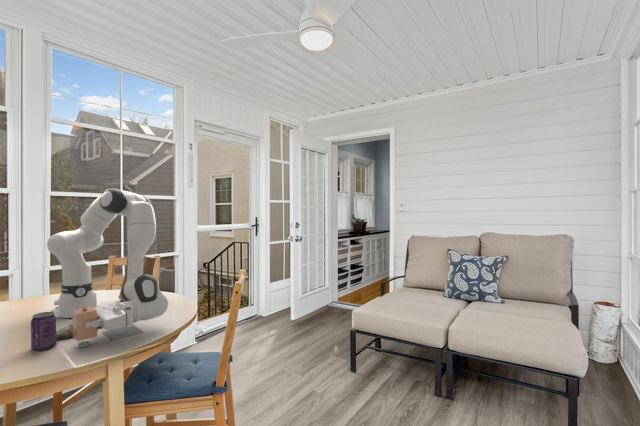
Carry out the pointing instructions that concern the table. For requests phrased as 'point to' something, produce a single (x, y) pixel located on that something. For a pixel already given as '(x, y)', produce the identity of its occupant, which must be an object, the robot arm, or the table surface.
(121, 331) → the mat
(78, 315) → the peach block with knob
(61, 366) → the table surface
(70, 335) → the long grey stone
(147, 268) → the photo frame
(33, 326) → the beverage can
